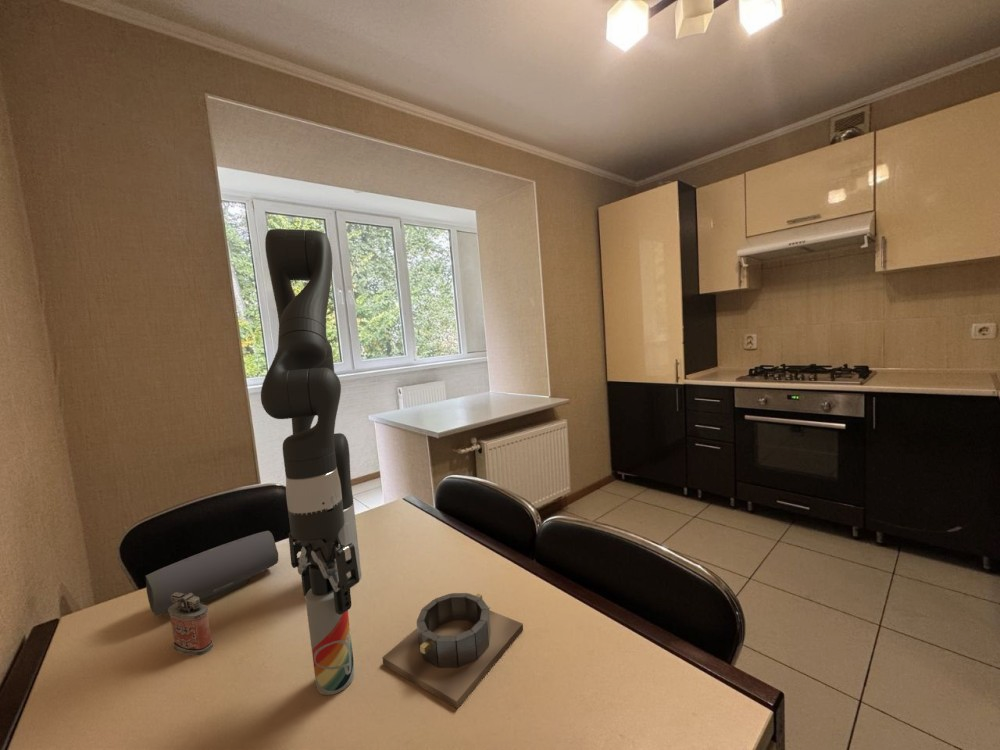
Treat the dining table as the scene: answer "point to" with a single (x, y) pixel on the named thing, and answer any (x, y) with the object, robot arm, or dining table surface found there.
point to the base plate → (452, 681)
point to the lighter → (190, 625)
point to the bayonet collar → (456, 647)
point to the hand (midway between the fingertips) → (327, 602)
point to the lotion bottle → (328, 636)
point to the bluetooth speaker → (212, 571)
